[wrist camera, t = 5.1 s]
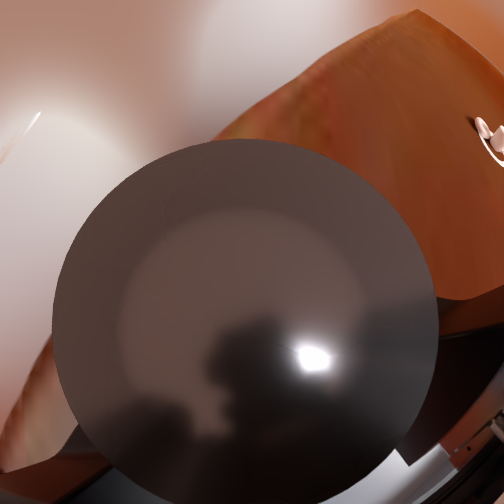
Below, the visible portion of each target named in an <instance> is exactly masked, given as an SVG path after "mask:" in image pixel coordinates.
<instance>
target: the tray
mask: <svg viewBox="0 0 504 504" xmlns="http://www.w3.org/2000/svg"><path fill="white" fill-rule="evenodd" d="M449 458H450V457H449V456H448V455H447V454H446V452H445V451H444V450H443V449H442V447H441V446H440V445H439V444H438V445H437V446H435V447H434V448H433V449H432V450H431V451H429V452H428V453H427V454H426V455H424V456H423V457H422V458H420V459H419V460H418V461H417V462H415V463H414V464H412V465H411V466H410V467H409V466H408V465H407V464H406V463H405V461H404V460H403V459H402V457H401V456H400V455H399V453H398V452H397V451H396V449H394V450H393V452H392V453H391V454H390V455H389V456H388V457H387V458H386V459H385V460H384V461H383V462H382V463H381V464H380V465H379V466H378V467H377V468H376V469H375V470H373V471H372V472H371V473H370V474H369V475H368V476H366V477H365V478H364V479H362V480H361V481H359V482H358V483H356V484H355V485H353V486H352V487H350V488H349V489H347V490H346V491H344V492H342V493H340V494H338V495H336V496H334V497H332V498H330V499H328V500H326V501H324V502H322V503H319V504H412V503H413V502H415V501H416V500H417V499H419V498H420V497H421V496H423V495H424V494H425V493H427V492H428V491H429V490H431V489H432V488H433V487H434V486H436V485H437V484H438V483H439V482H440V481H442V480H443V479H444V478H445V477H446V476H447V475H449V474H450V473H451V472H452V471H453V470H454V469H455V467H454V466H453V464H452V463H451V462H450V461H449Z"/></svg>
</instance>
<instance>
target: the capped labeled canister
mask: <svg viewBox="0 0 504 504" xmlns="http://www.w3.org/2000/svg"><path fill="white" fill-rule="evenodd" d="M438 336H439V320H438V308H437V300H436V295H435V290H434V286H433V281H432V277H431V274H430V271H429V269H428V266H427V263H426V260H425V258H424V255H423V253H422V251H421V249H420V247H419V245H418V243H417V241H416V239H415V237H414V235H413V234H412V232H411V231H410V229H409V228H408V226H407V224H406V223H405V222H404V220H403V219H402V217H401V216H400V214H399V213H398V212H397V211H396V210H395V209H394V207H393V206H392V205H391V204H390V203H389V202H388V200H387V199H386V198H385V197H384V196H383V195H382V194H380V193H379V192H378V191H377V190H376V189H375V188H374V187H373V186H372V185H371V184H369V183H368V182H367V181H366V180H364V179H363V178H361V177H360V176H359V175H357V174H356V173H354V172H353V171H352V170H350V169H349V168H347V167H345V166H343V165H341V164H340V163H338V162H336V161H334V160H332V159H330V158H328V157H326V156H323V155H321V154H319V153H316V152H314V151H311V150H308V149H305V148H302V147H298V146H294V145H291V144H287V143H282V142H275V141H268V140H261V139H231V140H220V141H212V142H208V143H203V144H198V145H194V146H190V147H187V148H184V149H181V150H178V151H176V152H173V153H170V154H168V155H165V156H164V157H161V158H159V159H157V160H155V161H153V162H151V163H149V164H147V165H146V166H144V167H143V168H141V169H139V170H138V171H137V172H135V173H133V174H132V175H130V176H129V177H128V178H126V179H125V180H124V181H123V182H121V183H120V184H119V185H118V186H117V187H116V188H114V189H113V190H112V191H111V192H110V193H109V194H108V195H107V196H106V197H105V198H104V199H103V200H102V201H101V202H100V203H99V205H98V206H97V207H96V208H95V209H94V210H93V211H92V213H91V214H90V215H89V217H88V218H87V220H86V221H85V223H84V224H83V226H82V227H81V229H80V230H79V232H78V233H77V235H76V237H75V239H74V241H73V243H72V245H71V247H70V249H69V251H68V253H67V255H66V258H65V261H64V264H63V266H62V269H61V272H60V275H59V278H58V283H57V287H56V292H55V298H54V303H53V317H52V339H53V350H54V358H55V363H56V367H57V371H58V376H59V380H60V383H61V386H62V389H63V391H64V394H65V396H66V399H67V401H68V404H69V406H70V408H71V410H72V412H73V414H74V416H75V418H76V419H77V421H78V423H79V425H80V426H81V428H82V430H83V431H84V433H85V434H86V435H87V437H88V438H89V439H90V441H91V442H92V443H93V445H94V446H95V447H96V448H97V450H98V451H99V452H100V453H101V454H102V455H103V456H104V457H105V458H106V459H107V460H108V461H109V462H110V463H111V464H112V465H113V466H114V467H115V468H116V469H117V470H118V471H120V472H121V473H122V474H123V475H125V476H126V477H127V478H129V479H130V480H131V481H133V482H134V483H136V484H137V485H138V486H140V487H141V488H143V489H145V490H147V491H149V492H150V493H152V494H154V495H156V496H158V497H160V498H162V499H164V500H166V501H168V502H171V503H173V504H319V503H322V502H324V501H326V500H328V499H330V498H332V497H334V496H336V495H338V494H340V493H342V492H344V491H346V490H347V489H349V488H350V487H352V486H353V485H355V484H356V483H358V482H359V481H361V480H362V479H364V478H365V477H366V476H368V475H369V474H370V473H371V472H372V471H373V470H375V469H376V468H377V467H378V466H379V465H380V464H381V463H382V462H383V461H384V460H385V459H386V458H387V457H388V456H389V455H390V454H391V453H392V452H393V450H394V449H395V448H396V447H397V446H398V444H399V443H400V442H401V441H402V439H403V438H404V436H405V435H406V433H407V432H408V430H409V429H410V427H411V426H412V424H413V422H414V421H415V419H416V417H417V415H418V413H419V411H420V409H421V407H422V405H423V402H424V400H425V398H426V396H427V393H428V390H429V386H430V383H431V380H432V377H433V373H434V368H435V363H436V357H437V351H438Z"/></svg>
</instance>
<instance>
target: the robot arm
mask: <svg viewBox="0 0 504 504" xmlns="http://www.w3.org/2000/svg"><path fill="white" fill-rule="evenodd" d="M436 300H437V308H438V320H439V336H438V351H437V357H436V363H435V368H434V373H433V377H432V380H431V383H430V386H429V390H428V393H427V396H426V398H425V400H424V402H423V405H422V407H421V409H420V411H419V413H418V415H417V417H416V419H415V421H414V422H413V424H412V426H411V427H410V429H409V430H408V432H407V433H406V435H405V436H404V438H403V439H402V441H401V442H400V443H399V444H398V446H397V447H396V448H395V449H396V451H397V452H398V453H399V455H400V456H401V457H402V459H403V460H404V461H405V463H406V464H407V465H408V466H409V467H410V466H411V465H412V464H414V463H415V462H417V461H418V460H419V459H420V458H422V457H423V456H424V455H426V454H427V453H428V452H429V451H431V450H432V449H433V448H434V447H435V446H437V445H438V444H439V445H440V446H441V447H442V449H443V450H444V451H445V452H446V454H447V455H448V456H449V457H450V458H449V461H450V462H451V463H452V464H453V466H454V467H455V469H454V470H453V471H452V472H451V473H450V474H449V475H447V476H446V477H445V478H444V479H443V480H442V481H440V482H439V483H438V484H437V485H436V486H434V487H433V488H432V489H431V490H429V491H428V492H427V493H425V494H424V495H423V496H421V497H420V498H419V499H417V500H416V501H415V502H413V503H412V504H504V285H502V286H500V287H498V288H496V289H494V290H491V291H489V292H487V293H484V294H482V295H480V296H477V297H475V298H472V299H468V300H450V299H445V298H440V297H436ZM0 504H173V503H171V502H168V501H166V500H164V499H162V498H160V497H158V496H156V495H154V494H152V493H150V492H149V491H147V490H145V489H143V488H141V487H140V486H138V485H137V484H136V483H134V482H133V481H131V480H130V479H129V478H127V477H126V476H125V475H123V474H122V473H121V472H120V471H118V470H117V469H116V468H115V467H114V466H113V465H112V464H111V463H110V462H109V461H108V460H107V459H106V458H105V457H104V456H103V455H102V454H101V453H100V452H99V451H98V450H97V448H96V447H95V446H94V445H93V443H92V442H91V441H90V439H89V438H88V437H87V435H86V434H85V433H84V431H83V430H82V428H81V426H80V425H79V423H78V425H77V426H76V428H75V429H74V431H73V432H72V434H71V435H70V437H69V439H68V440H67V442H66V443H65V445H64V446H63V448H62V449H61V450H60V451H59V452H58V453H57V454H56V455H55V456H53V457H51V458H50V459H48V460H45V461H42V462H40V463H37V464H34V465H31V466H28V467H25V468H21V469H18V470H15V471H11V472H8V473H4V474H0Z"/></svg>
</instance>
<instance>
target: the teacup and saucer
mask: <svg viewBox="0 0 504 504" xmlns="http://www.w3.org/2000/svg"><path fill="white" fill-rule="evenodd" d="M475 125H476V128H477V130H478V134H479V136H480V138H481V140H482V142H483V144H484V146H485V147H486V149H487V150H488V152H489V153H490V154H491V156H492V157H493V158H494V159H495V160H496V161H497V162H498V163H499V164H500V165H501V166H502V167H504V162H502V161H500V160H498V159H497V158H496V157H495V156H494V155H493V153H492V152H491V151H490V149H489V148H488V146H487V145H486V143H485V141H484V139H483V137H484V138H486V139H489V138H490V135H491V136H492V137H491V139H490V144H491V146H492V147H493V149H494V150H495V151H497V152H501V153H503V154H504V127H503V126H500V127H499V128H498V129H497V131H496V132H495V133H494V134H493V133H492V132H491V131H490V130H489V128H488V127H487V125H486V123H485V122H484V121H483V120H482V119H481V118H479V117H477V118H475Z"/></svg>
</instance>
